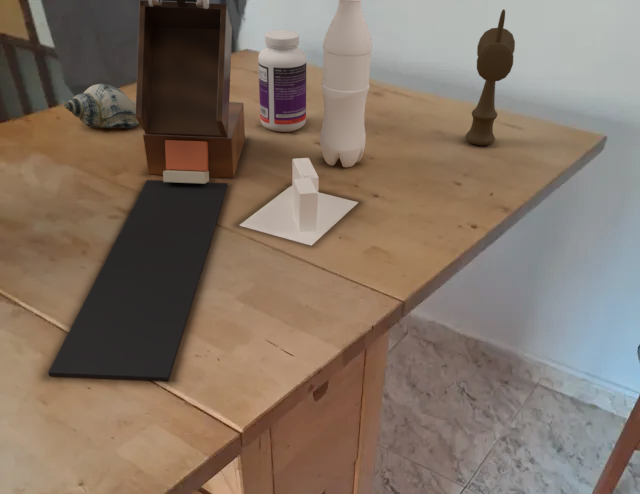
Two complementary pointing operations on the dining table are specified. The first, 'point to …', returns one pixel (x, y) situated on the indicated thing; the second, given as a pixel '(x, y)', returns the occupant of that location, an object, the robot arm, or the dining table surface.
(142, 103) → the scoop
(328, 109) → the water bottle
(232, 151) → the stand
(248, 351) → the dining table surface
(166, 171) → the block
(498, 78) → the kendama
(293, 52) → the pill bottle
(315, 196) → the napkin holder
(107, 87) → the seashell
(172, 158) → the block
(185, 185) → the mat
